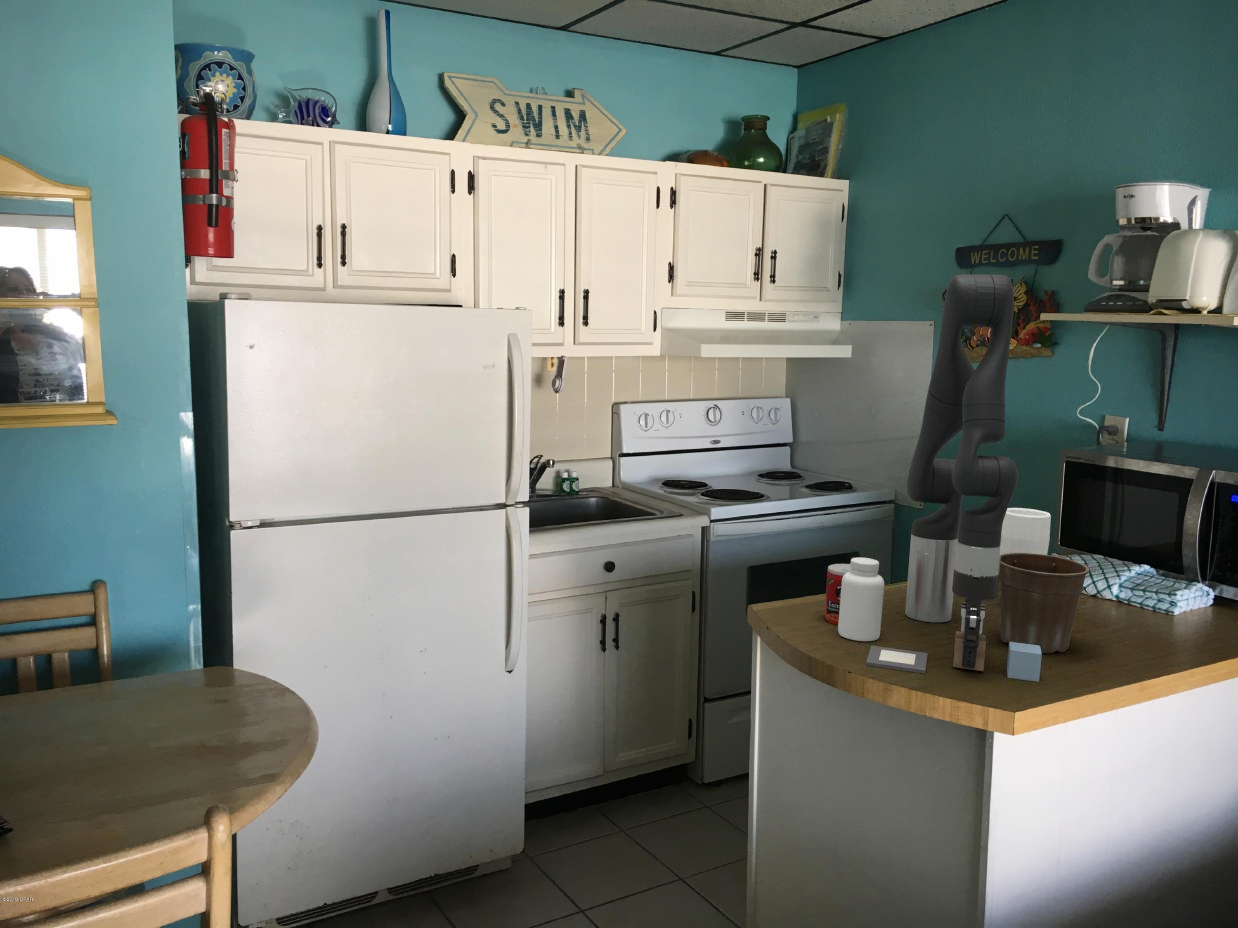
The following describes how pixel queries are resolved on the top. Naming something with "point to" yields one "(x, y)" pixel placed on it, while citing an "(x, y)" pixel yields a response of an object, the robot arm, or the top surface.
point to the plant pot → (1039, 599)
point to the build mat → (897, 659)
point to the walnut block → (979, 654)
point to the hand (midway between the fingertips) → (968, 661)
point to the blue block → (1024, 661)
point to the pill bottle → (861, 601)
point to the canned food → (834, 591)
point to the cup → (1025, 531)
